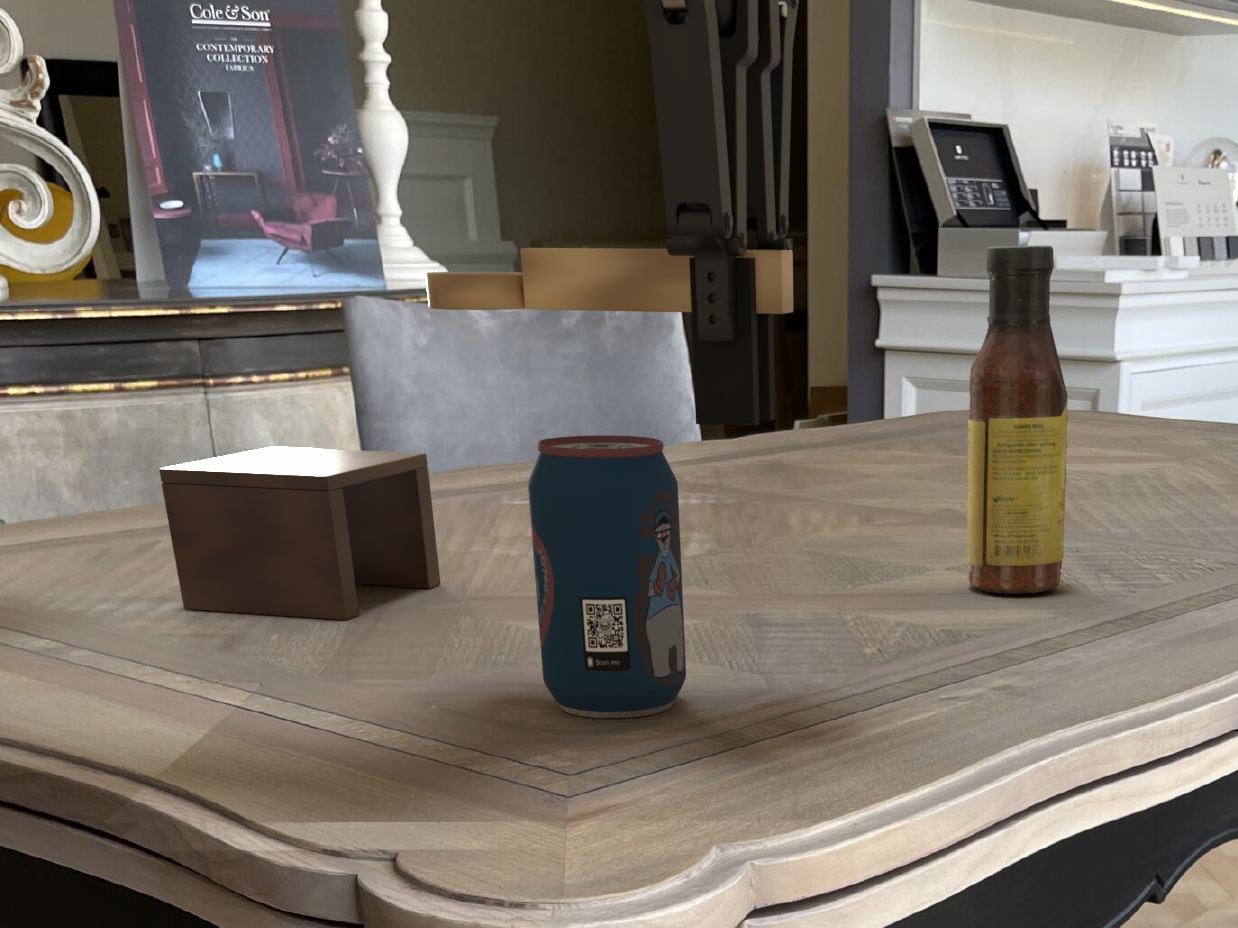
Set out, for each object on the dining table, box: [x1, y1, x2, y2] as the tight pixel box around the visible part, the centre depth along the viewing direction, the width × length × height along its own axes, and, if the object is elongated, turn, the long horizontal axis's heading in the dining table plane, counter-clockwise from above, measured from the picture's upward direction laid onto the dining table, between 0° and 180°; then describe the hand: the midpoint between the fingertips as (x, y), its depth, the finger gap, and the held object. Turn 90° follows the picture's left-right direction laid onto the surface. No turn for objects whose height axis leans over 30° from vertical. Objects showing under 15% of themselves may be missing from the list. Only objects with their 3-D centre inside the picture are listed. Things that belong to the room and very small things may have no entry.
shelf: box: [159, 446, 442, 621], centre depth 105 cm, size 11×12×8 cm
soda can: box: [527, 434, 687, 719], centre depth 81 cm, size 7×7×12 cm
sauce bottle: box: [967, 244, 1069, 595], centre depth 106 cm, size 7×6×20 cm
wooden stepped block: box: [425, 247, 794, 315], centre depth 74 cm, size 17×5×2 cm, turn 75°
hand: (735, 420), depth 76 cm, fingers closed on wooden stepped block, 2 cm apart
